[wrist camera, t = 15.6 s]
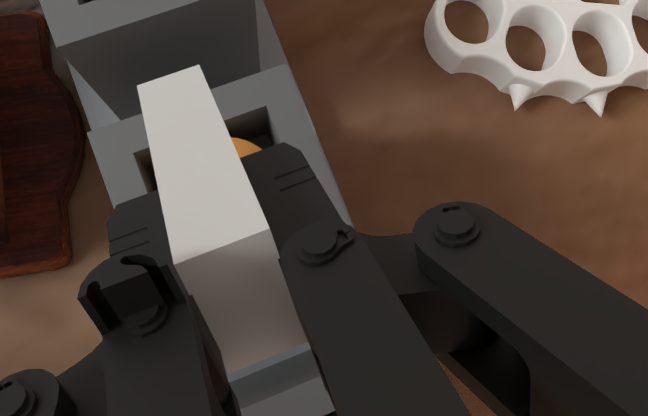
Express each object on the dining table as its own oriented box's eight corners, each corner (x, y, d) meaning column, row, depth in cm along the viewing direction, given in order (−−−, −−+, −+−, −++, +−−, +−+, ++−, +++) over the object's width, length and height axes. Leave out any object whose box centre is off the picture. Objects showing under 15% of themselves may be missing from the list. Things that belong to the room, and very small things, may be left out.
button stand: (447, 473, 39) (543, 571, 25) (252, 561, 37) (238, 718, 23) (234, -59, 43) (214, -230, 29) (50, 0, 41) (-65, -151, 27)
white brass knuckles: (664, -60, 46) (670, 131, 43) (426, -83, 44) (420, 112, 42) (695, -88, 42) (703, 117, 40) (438, -114, 41) (432, 96, 39)
